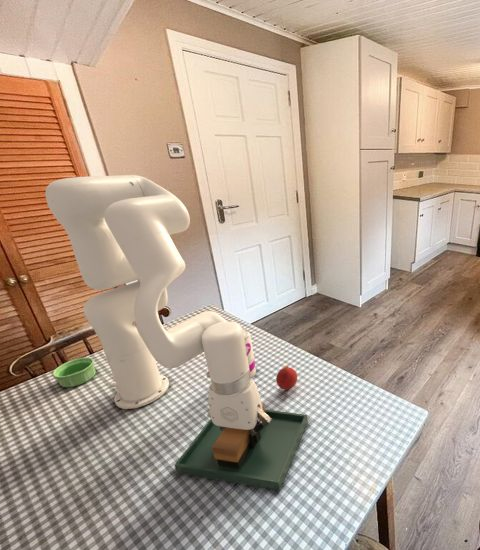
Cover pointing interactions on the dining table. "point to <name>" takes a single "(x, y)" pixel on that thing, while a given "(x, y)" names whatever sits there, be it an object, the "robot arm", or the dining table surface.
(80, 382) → the ramekin
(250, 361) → the supplement can
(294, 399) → the dining table surface
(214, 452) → the tan wooden block
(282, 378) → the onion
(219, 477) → the tray
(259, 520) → the dining table surface
